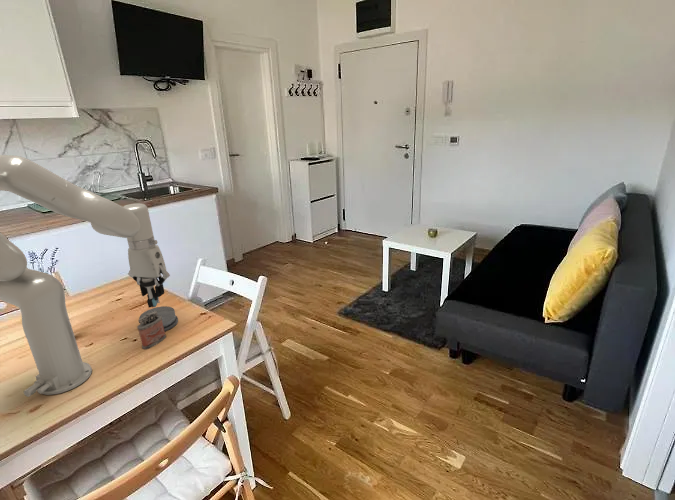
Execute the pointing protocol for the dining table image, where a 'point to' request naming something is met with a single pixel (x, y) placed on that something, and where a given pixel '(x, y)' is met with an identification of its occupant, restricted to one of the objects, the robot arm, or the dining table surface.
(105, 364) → the dining table surface
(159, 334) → the lighter
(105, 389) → the dining table surface
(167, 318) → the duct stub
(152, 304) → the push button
